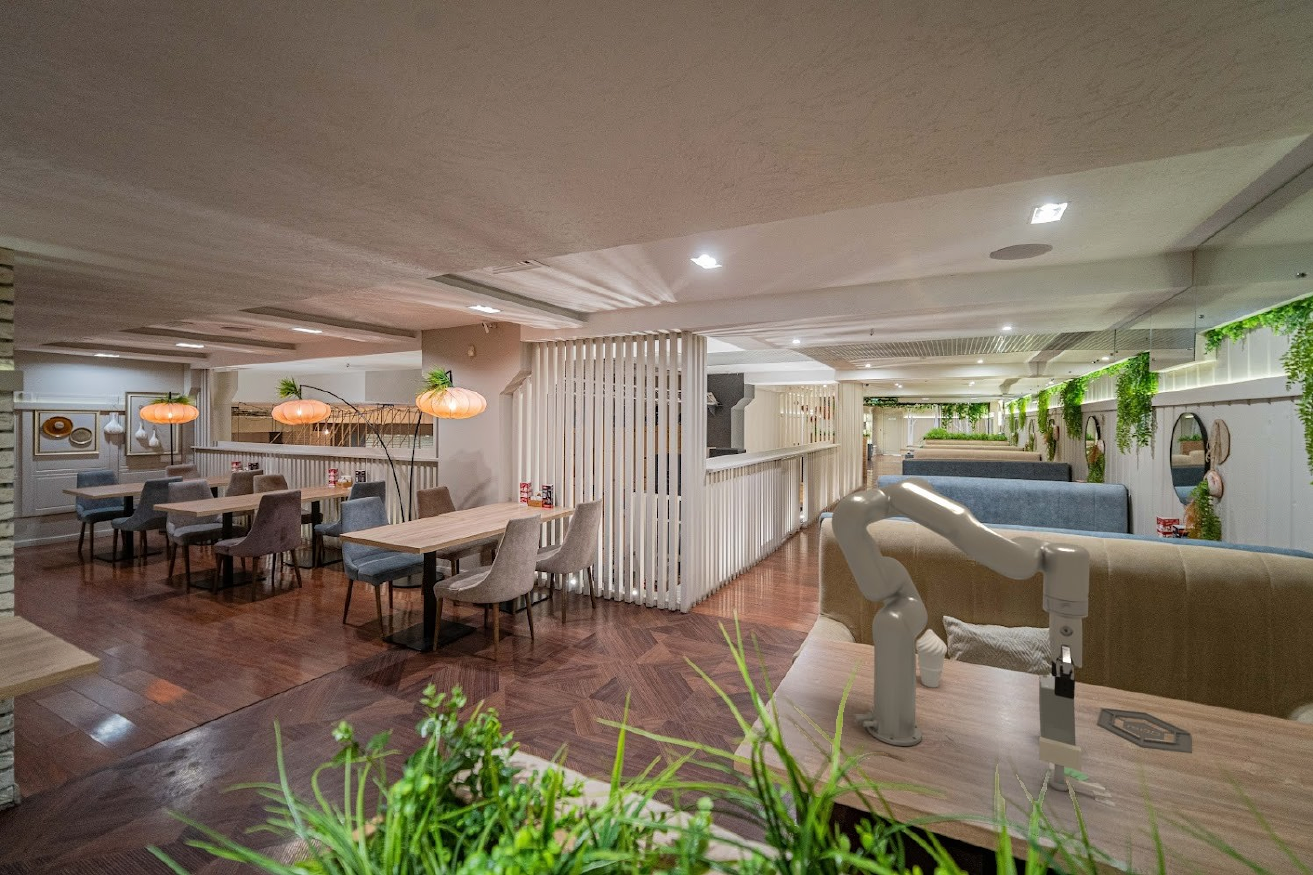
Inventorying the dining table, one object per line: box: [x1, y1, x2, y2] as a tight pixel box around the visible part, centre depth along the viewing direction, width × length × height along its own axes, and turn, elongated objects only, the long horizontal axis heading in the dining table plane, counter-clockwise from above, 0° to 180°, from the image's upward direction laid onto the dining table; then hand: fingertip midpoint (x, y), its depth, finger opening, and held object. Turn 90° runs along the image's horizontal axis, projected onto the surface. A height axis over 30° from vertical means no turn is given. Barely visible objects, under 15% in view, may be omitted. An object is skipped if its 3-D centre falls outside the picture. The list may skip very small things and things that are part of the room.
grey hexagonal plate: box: [1096, 707, 1192, 754], centre depth 140 cm, size 17×20×1 cm
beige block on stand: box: [1038, 736, 1106, 794], centre depth 115 cm, size 11×3×9 cm, turn 57°
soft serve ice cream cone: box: [914, 628, 948, 689], centre depth 163 cm, size 8×8×16 cm
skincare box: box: [1038, 674, 1077, 746], centre depth 131 cm, size 8×7×16 cm
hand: (1062, 686), depth 116 cm, fingers open, 9 cm apart
